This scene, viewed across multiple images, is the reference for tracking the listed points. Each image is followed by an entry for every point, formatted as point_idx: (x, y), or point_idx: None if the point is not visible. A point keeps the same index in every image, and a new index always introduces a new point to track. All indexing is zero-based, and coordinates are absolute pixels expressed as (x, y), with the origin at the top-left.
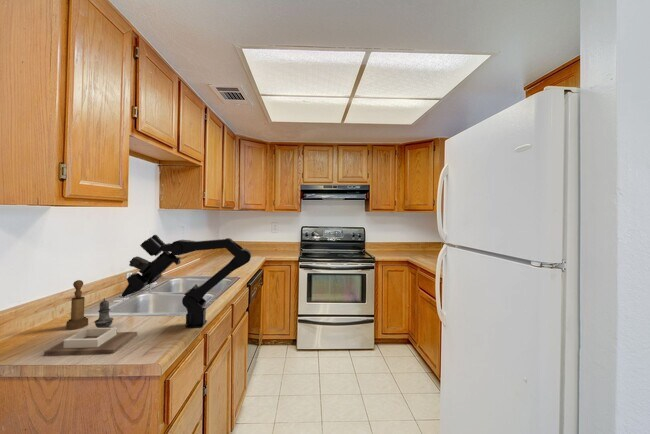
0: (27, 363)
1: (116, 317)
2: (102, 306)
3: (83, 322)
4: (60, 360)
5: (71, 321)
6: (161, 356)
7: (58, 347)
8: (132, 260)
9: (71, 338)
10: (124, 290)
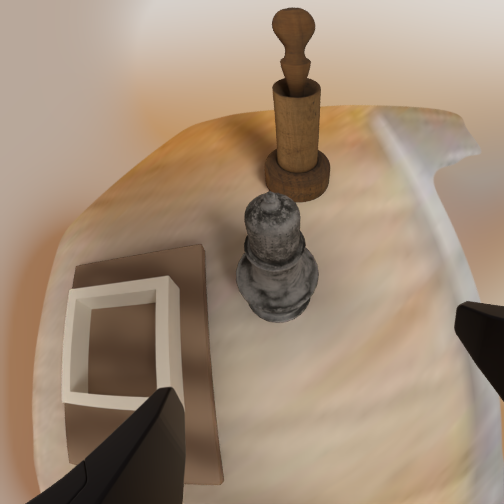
0: (54, 270)
1: (409, 236)
2: (248, 232)
3: (292, 189)
4: (51, 336)
5: (270, 160)
6: None
7: (91, 281)
8: None
9: (84, 298)
10: (109, 436)
